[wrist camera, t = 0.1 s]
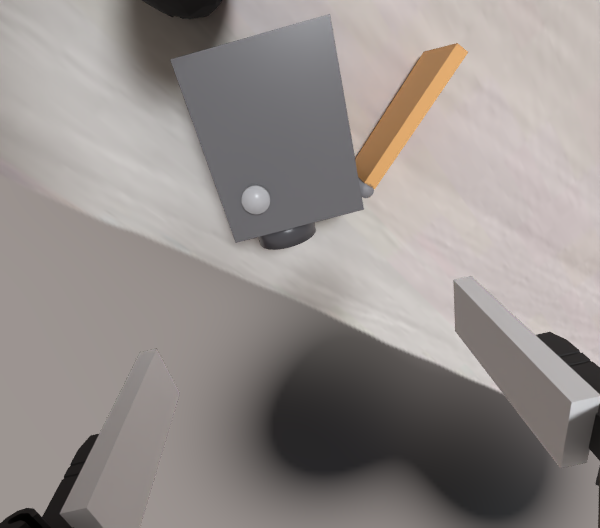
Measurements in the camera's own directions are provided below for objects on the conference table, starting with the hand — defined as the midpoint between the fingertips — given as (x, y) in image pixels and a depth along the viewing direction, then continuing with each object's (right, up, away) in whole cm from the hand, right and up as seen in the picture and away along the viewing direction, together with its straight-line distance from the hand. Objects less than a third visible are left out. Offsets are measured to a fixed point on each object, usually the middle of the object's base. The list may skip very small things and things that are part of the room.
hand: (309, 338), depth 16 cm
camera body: (-3, +16, +23) cm, 28 cm away
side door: (+9, +18, +22) cm, 30 cm away
